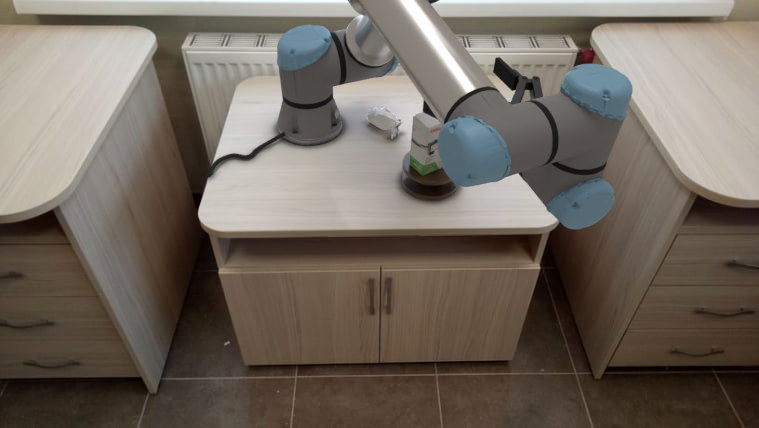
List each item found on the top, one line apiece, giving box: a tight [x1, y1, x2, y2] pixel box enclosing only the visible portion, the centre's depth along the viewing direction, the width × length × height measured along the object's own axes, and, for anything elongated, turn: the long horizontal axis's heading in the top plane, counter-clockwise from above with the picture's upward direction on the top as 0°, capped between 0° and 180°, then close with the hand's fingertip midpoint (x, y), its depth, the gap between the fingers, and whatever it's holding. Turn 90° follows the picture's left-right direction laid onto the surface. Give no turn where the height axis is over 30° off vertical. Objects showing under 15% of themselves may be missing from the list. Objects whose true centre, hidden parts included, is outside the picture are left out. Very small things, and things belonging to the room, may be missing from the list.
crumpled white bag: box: [365, 106, 403, 140], centre depth 129 cm, size 5×7×10 cm
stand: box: [401, 150, 459, 202], centre depth 115 cm, size 12×12×5 cm
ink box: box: [409, 111, 443, 176], centre depth 109 cm, size 9×5×12 cm, turn 123°
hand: (460, 70), depth 91 cm, fingers open, 13 cm apart
